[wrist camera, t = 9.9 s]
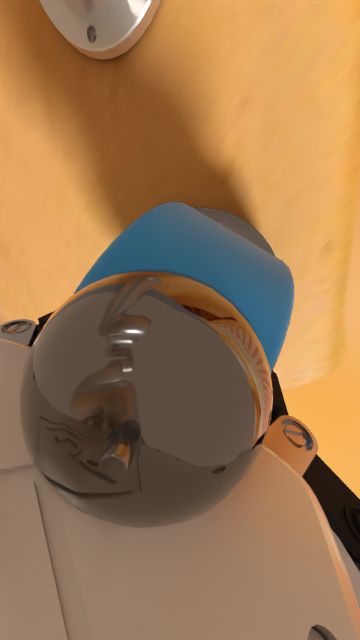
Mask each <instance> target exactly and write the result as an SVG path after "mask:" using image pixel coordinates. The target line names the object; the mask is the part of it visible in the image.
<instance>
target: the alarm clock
mask: <svg viewBox="0 0 360 640" xmlns="http://www.w3.org/2000/svg"><path fill="white" fill-rule="evenodd" d="M293 301H294V283H293V278H292V274H291V271H290V269H289V267H288V266H287V265H286V264H285V263H284V262H283V261H282V260H280V259H278V258H277V257H275V256H273V255H271V254H270V253H268V252H266V251H265V250H263V249H261V248H260V247H258V246H256V245H255V244H253V243H251V242H249V241H248V240H246V239H244V238H243V237H241V236H239V235H238V234H236V233H234V232H233V231H231V230H229V229H227V228H226V227H224V226H222V225H221V224H219V223H217V222H216V221H214V220H212V219H210V218H209V217H207V216H205V215H204V214H202V213H200V212H199V211H197V210H195V209H194V208H192V207H190V206H188V205H187V204H184V203H181V202H168V203H164V204H161V205H158V206H156V207H154V208H152V209H150V210H149V211H147V212H146V213H145V214H143V215H142V216H140V217H139V218H138V219H137V220H135V221H134V222H133V223H132V224H131V225H130V226H128V227H127V228H126V229H125V230H124V231H123V232H122V233H121V234H120V235H119V236H118V237H117V238H116V239H115V240H114V241H113V242H112V243H111V245H110V246H109V247H108V248H107V249H106V250H105V252H104V253H103V254H102V255H101V256H100V257H99V259H98V260H97V261H96V263H95V264H94V265H93V267H92V268H91V269H90V271H89V272H88V273H87V275H86V276H85V278H84V279H83V281H82V282H81V284H80V285H79V287H78V288H77V290H76V291H75V293H74V294H73V295H72V296H71V297H69V298H68V299H67V300H66V301H65V302H64V303H63V304H62V305H61V306H60V307H59V308H58V309H57V310H56V311H55V312H54V313H53V314H52V315H51V316H50V318H49V319H48V321H47V322H46V324H45V325H44V327H43V328H42V330H41V331H40V332H39V334H38V336H37V338H36V339H35V341H34V343H33V345H32V348H31V350H30V353H29V355H28V358H27V360H26V362H25V365H24V368H23V374H22V379H21V384H20V420H21V426H22V431H23V436H24V441H25V445H26V448H27V450H28V453H29V455H30V458H31V460H32V463H33V465H34V467H35V468H36V470H37V471H38V473H39V474H40V476H41V477H42V479H43V481H44V482H45V483H46V484H47V485H48V486H49V487H50V488H51V489H52V490H53V491H55V492H56V493H57V494H58V495H59V496H60V497H61V498H62V499H64V500H65V501H66V502H67V503H69V504H70V505H72V506H73V507H75V508H76V509H78V510H79V511H81V512H83V513H85V514H87V515H90V516H92V517H95V518H97V519H99V520H103V521H106V522H110V523H113V524H117V525H122V526H128V527H135V528H144V527H161V526H166V525H171V524H176V523H182V522H185V521H188V520H191V519H194V518H197V517H199V516H201V515H203V514H205V513H207V512H208V511H210V510H211V509H212V508H214V507H215V506H216V505H218V504H219V503H220V502H222V501H223V500H224V499H226V498H227V497H228V496H230V495H231V494H232V493H233V492H234V491H235V490H236V489H237V488H238V486H239V485H240V484H241V483H242V482H243V480H244V479H245V478H246V477H247V476H248V474H249V473H250V471H251V469H252V467H253V465H254V463H255V462H256V460H257V458H258V456H259V454H260V452H261V450H262V447H263V445H264V442H265V439H266V435H267V432H268V428H269V425H270V421H271V416H272V403H273V389H272V381H271V373H272V371H273V368H274V366H275V364H276V362H277V359H278V356H279V354H280V351H281V348H282V346H283V343H284V340H285V336H286V333H287V330H288V326H289V323H290V318H291V313H292V309H293Z"/></svg>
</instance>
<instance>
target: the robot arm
mask: <svg viewBox="0 0 360 640" xmlns="http://www.w3.org/2000/svg"><path fill="white" fill-rule="evenodd" d="M39 1H40V3H41V5H42V7H43V9H44V10H45V12H46V14H47V15H48V17H49V18H50V20H51V21H52V23H53V24H54V26H55V27H56V28H57V29H58V30H59V32H60V33H61V34H62V35H63V36H64V37H65V39H66V40H67V41H68V42H69V43H70V44H71V45H73V46H74V47H75V48H76V49H77V50H78V51H79V52H81V53H83V54H85V55H87V56H89V57H90V58H95V59H101V60H104V59H110V58H115V57H117V56H119V55H121V54H123V53H125V52H126V51H128V50H129V49H130V48H131V47H132V46H133V45H134V44H135V43H136V42H137V41H138V40H139V39H140V37H141V36H142V34H143V33H144V32H145V30H146V29H147V27H148V26H149V24H150V22H151V20H152V18H153V16H154V14H155V12H156V10H157V8H158V6H159V4H160V2H161V0H39ZM54 312H55V311H54ZM54 312H51V313H49V314H47V315H45V316H43V317H40V318H38V320H39V324H38V325H36V323H35V322H34V321H32V320H27V319H20V320H13V321H9V322H6V323H4V324H2V325H0V640H360V499H359V498H358V497H357V496H356V495H355V494H354V493H353V492H352V491H351V490H350V489H349V488H348V487H347V486H346V485H345V484H344V483H343V482H342V480H340V478H339V477H338V476H337V475H336V474H335V473H334V472H333V471H332V470H331V469H330V468H329V467H328V466H327V465H326V464H325V463H324V462H323V461H322V460H321V458H320V457H318V455H317V451H318V445H317V441H316V439H315V437H314V435H313V434H312V432H311V431H310V430H309V429H308V428H307V427H306V426H305V425H304V424H303V423H302V422H301V421H299V420H298V419H296V418H294V417H292V416H289V415H288V412H287V409H286V405H285V402H284V398H283V395H282V391H281V388H280V384H279V381H278V377H277V375H276V373H275V372H273V371H272V373H271V381H272V389H273V403H272V416H271V421H270V425H269V428H268V432H267V435H266V439H265V442H264V445H263V447H262V450H261V452H260V454H259V456H258V458H257V460H256V462H255V463H254V465H253V467H252V469H251V471H250V473H249V474H248V476H247V477H246V478H245V479H244V480H243V482H242V483H241V484H240V485H239V486H238V488H237V489H236V490H235V491H234V492H233V493H232V494H231V495H230V496H228V497H227V498H226V499H224V500H223V501H222V502H220V503H219V504H218V505H216V506H215V507H214V508H212V509H211V510H210V511H208V512H207V513H205V514H203V515H201V516H199V517H197V518H194V519H191V520H188V521H185V522H182V523H176V524H171V525H166V526H161V527H144V528H135V527H128V526H122V525H117V524H113V523H110V522H106V521H103V520H99V519H97V518H95V517H92V516H90V515H87V514H85V513H83V512H81V511H79V510H78V509H76V508H75V507H73V506H72V505H70V504H69V503H67V502H66V501H65V500H64V499H62V498H61V497H60V496H59V495H58V494H57V493H56V492H55V491H53V490H52V489H51V488H50V487H49V486H48V485H47V484H46V483H45V482H44V481H43V479H42V477H41V476H40V474H39V473H38V471H37V470H36V468H35V467H34V465H33V463H32V460H31V458H30V455H29V453H28V450H27V448H26V445H25V441H24V436H23V431H22V426H21V420H20V384H21V379H22V374H23V368H24V365H25V362H26V360H27V358H28V355H29V353H30V350H31V348H32V345H33V343H34V341H35V339H36V338H37V336H38V334H39V332H40V331H41V330H42V328H43V327H44V325H45V324H46V322H47V321H48V319H49V318H50V316H51V315H52V314H53V313H54Z"/></svg>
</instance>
